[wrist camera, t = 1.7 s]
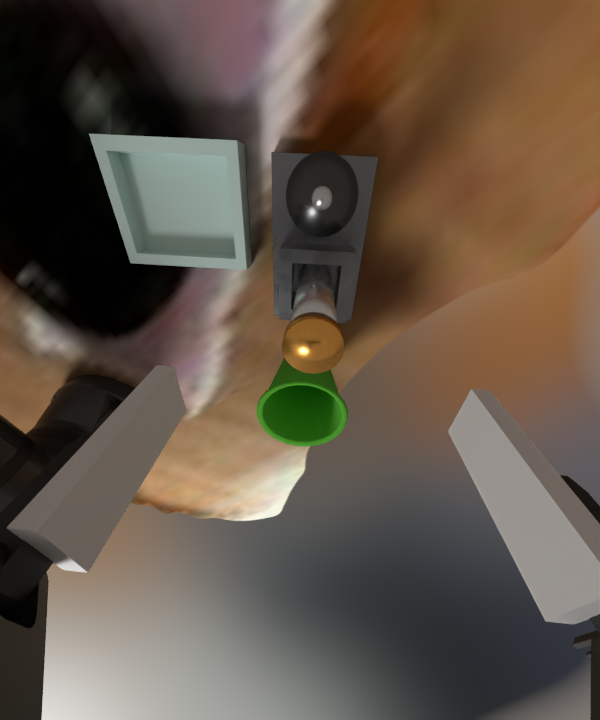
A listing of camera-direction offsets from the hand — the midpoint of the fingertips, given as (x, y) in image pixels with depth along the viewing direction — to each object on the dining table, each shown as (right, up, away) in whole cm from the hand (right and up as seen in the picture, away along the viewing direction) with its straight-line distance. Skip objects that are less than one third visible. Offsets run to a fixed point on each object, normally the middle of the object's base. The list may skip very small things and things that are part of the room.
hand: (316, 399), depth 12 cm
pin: (+1, +10, +16) cm, 19 cm away
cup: (0, +2, +23) cm, 23 cm away
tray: (-12, +17, +13) cm, 25 cm away
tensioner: (+1, +14, +15) cm, 20 cm away
